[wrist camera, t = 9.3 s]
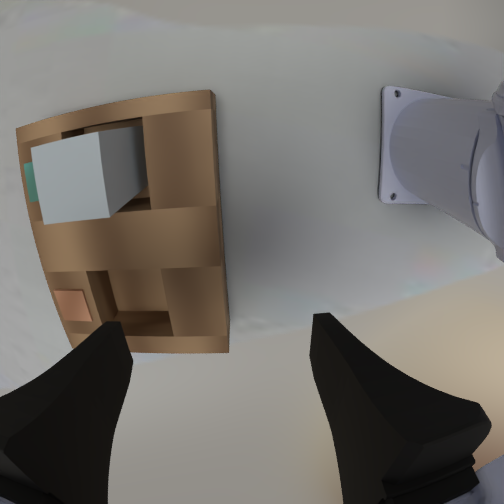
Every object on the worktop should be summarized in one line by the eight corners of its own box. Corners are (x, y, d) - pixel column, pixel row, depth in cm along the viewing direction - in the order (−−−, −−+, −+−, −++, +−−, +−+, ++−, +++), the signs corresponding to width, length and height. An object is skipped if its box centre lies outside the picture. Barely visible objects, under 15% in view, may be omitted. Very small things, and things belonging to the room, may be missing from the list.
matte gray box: (146, 125, 17) (98, 131, 11) (152, 182, 18) (109, 217, 12) (94, 134, 17) (30, 147, 10) (100, 188, 18) (44, 224, 12)
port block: (215, 94, 17) (209, 89, 14) (229, 321, 23) (228, 354, 20) (45, 124, 17) (13, 128, 13) (88, 321, 23) (71, 349, 20)
